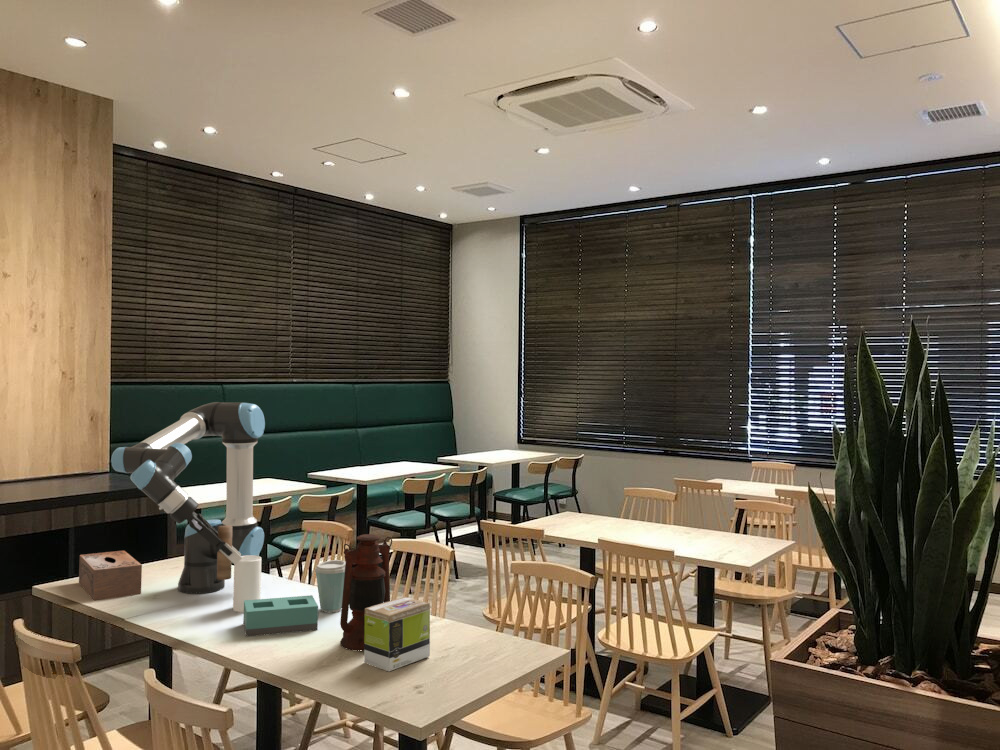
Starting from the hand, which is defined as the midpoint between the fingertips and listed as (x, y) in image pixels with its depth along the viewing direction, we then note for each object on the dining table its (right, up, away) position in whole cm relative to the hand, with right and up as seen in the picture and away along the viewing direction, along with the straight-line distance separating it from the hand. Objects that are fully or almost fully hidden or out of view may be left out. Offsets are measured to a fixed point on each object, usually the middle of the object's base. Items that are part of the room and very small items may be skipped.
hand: (238, 559), depth 230 cm
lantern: (+39, -21, -10) cm, 46 cm away
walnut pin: (-4, -5, -1) cm, 6 cm away
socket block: (+12, -20, +2) cm, 24 cm away
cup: (-4, -20, +19) cm, 28 cm away
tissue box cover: (-57, -19, +38) cm, 71 cm away
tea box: (+50, -22, -23) cm, 59 cm away
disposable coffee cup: (+23, -21, +20) cm, 37 cm away
